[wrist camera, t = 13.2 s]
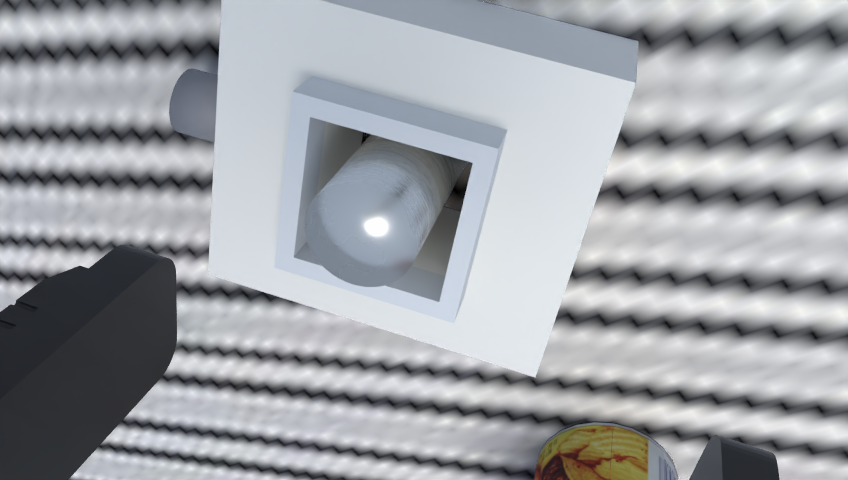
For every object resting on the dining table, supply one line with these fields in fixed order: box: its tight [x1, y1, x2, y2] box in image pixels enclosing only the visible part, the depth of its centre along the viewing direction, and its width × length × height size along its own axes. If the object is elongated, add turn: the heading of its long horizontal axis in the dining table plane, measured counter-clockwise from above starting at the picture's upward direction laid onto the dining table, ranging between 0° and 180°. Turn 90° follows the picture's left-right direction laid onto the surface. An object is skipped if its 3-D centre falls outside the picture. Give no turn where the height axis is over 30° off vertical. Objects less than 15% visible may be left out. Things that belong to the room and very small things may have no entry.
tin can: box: [305, 134, 468, 287], centre depth 33 cm, size 4×4×10 cm
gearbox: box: [169, 0, 639, 377], centre depth 34 cm, size 19×14×8 cm
